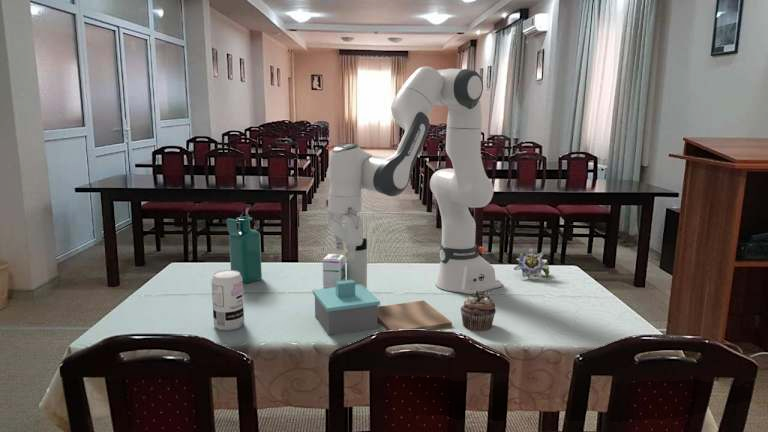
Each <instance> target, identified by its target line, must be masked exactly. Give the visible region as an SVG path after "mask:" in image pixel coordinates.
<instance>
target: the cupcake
mask: <svg viewBox="0 0 768 432" xmlns="http://www.w3.org/2000/svg"><path fill="white" fill-rule="evenodd" d="M496 313H497V311H496V303H495V302H494V300H493V299H492V298H491V294H490V292H489V291H481V293H480V292H478V291H476V292H475V293H472V294H471V295H470V296H468V297H467V298H465V299H464V300H463V305H462V306H461V307H460V314H461V320H462V326H463V328H464V329H466V330H469V331H473V332H485V331H489V330H490V329H491V328H492V326H493V322H494V318H495V315H496Z"/></svg>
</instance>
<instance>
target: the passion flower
mask: <svg viewBox="0 0 768 432" xmlns="http://www.w3.org/2000/svg"><path fill="white" fill-rule="evenodd" d="M515 256H516V257H517V258H515V261H517V262H518V264H517V265H516V266H515V267H514V268H513V270H514V271H520V270H521V272H522V273H521V275H522V278H525V277H527V278H528V280H529V281H530V280H533V278H534V275H536V276H537V277H539V278H540V277H542V271H543V272H544V274H545V276H546V277H547V278H548V277H549V275H550V266H549V265H548V263H547V262H548V260H547V259H543V256H544V253H543V252H540V253H535V250H534V251H533V248H531V247H530V248H529V249H528V250H527V251H526V252H523V253H522V252H519V253H516V255H515Z"/></svg>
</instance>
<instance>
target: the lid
mask: <svg viewBox="0 0 768 432" xmlns="http://www.w3.org/2000/svg"><path fill="white" fill-rule="evenodd" d="M312 295H313V296H314V298H315V297H316V298H317V300H318V301H319V302H320V303H321V305H322V306H323V307H324V308H325V310H326V311H327V312H330V311H337V310H344V309H352V308H359V307H366V306H374V305H378V306H381V300H380V299H378V298H377V297H376V296H375V294H373V293H372V292H370V290H369V289H368V288H367V289H366V288H365V287H364V286H363V285H362V284H358V285H355V282H354V281H353V280H347V279H346V280H345V281H336V287H333V288H325V289H323V288H317V289H312Z"/></svg>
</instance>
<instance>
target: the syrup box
mask: <svg viewBox="0 0 768 432" xmlns="http://www.w3.org/2000/svg"><path fill="white" fill-rule="evenodd" d="M345 280H347V269H346V254H341V253H328V254H327V255H326V256H324V258H322V281H323V282H322V287H323V288H322V289H325V288H333V287H336V281H345Z"/></svg>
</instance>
